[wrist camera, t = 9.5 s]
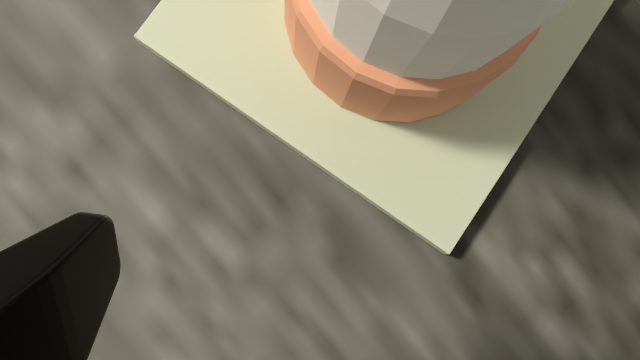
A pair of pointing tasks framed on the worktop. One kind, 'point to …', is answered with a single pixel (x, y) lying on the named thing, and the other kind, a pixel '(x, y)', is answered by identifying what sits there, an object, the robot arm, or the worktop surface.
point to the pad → (362, 132)
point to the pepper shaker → (410, 49)
